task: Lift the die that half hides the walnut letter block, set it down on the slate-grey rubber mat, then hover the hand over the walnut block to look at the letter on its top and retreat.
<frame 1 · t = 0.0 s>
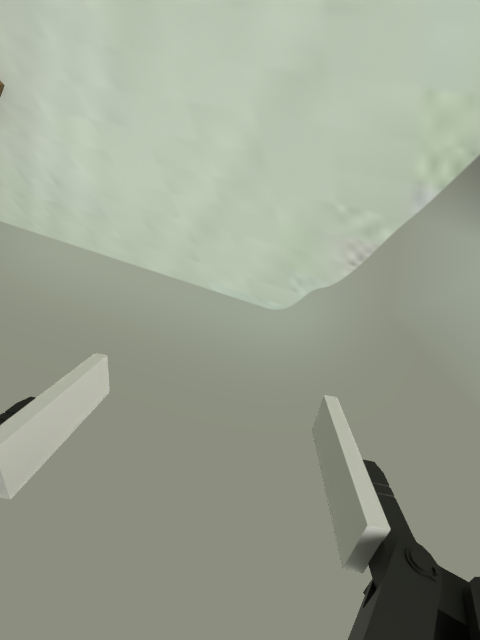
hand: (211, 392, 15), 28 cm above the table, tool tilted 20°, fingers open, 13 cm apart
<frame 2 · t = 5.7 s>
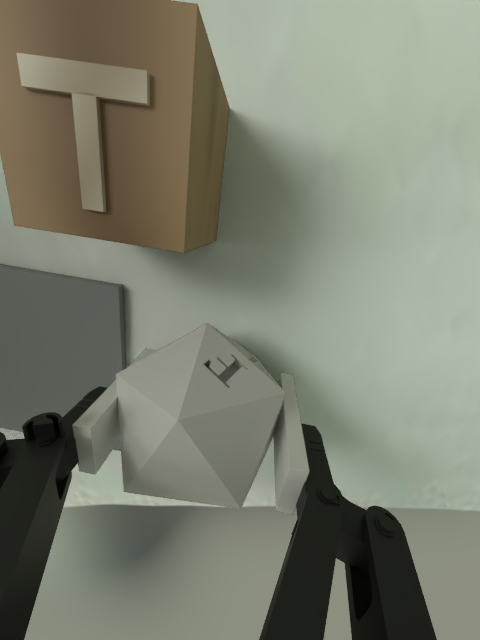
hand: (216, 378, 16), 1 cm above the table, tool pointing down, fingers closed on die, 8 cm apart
letter block: (166, 172, 13), on the table
die: (216, 368, 17), on the table, touching gripper
grey mat: (41, 362, 18), on the table
when the fingers open (2 cm above the table, at t = 11.4 s): die stays where it is, resting on grey mat.
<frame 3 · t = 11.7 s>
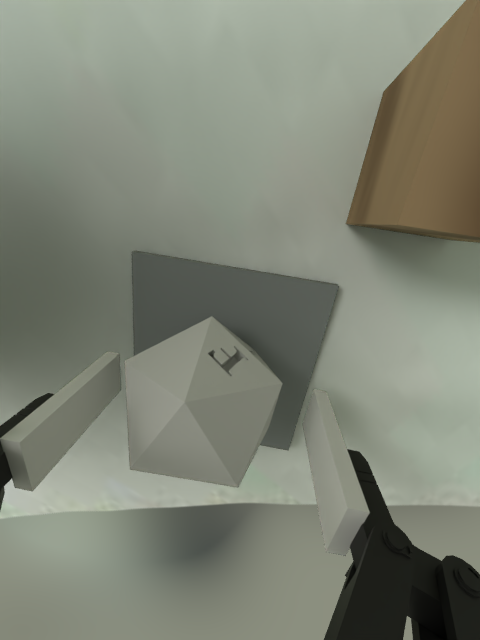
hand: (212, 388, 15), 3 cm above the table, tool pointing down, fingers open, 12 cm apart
letter block: (419, 172, 13), on the table
die: (217, 361, 18), resting on grey mat
grey mat: (221, 360, 18), on the table
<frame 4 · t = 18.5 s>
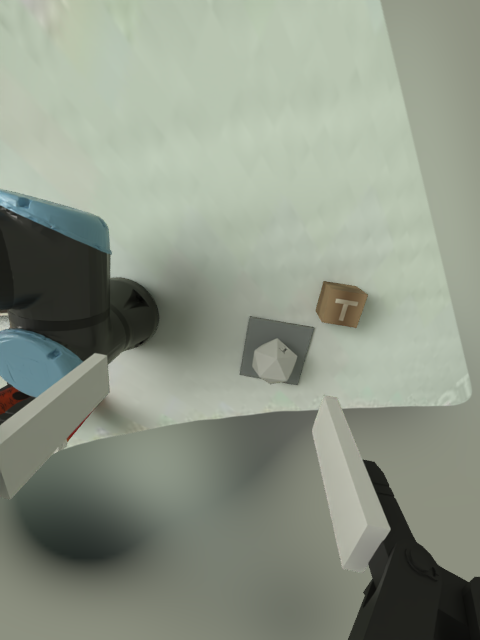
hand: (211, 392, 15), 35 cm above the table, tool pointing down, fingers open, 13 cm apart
letter block: (335, 298, 47), on the table
die: (273, 351, 52), resting on grey mat
grey mat: (274, 351, 52), on the table
statue: (38, 389, 63), on the table
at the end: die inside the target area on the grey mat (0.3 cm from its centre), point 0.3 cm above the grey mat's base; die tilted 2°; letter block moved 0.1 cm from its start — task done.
